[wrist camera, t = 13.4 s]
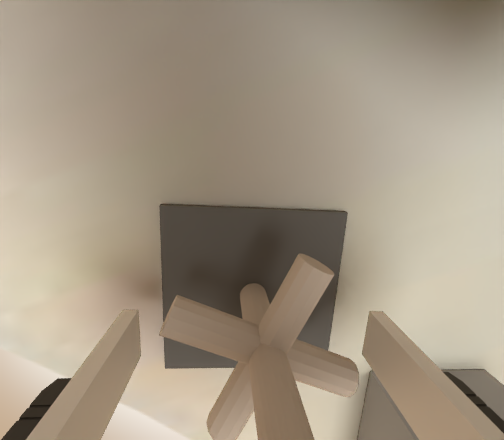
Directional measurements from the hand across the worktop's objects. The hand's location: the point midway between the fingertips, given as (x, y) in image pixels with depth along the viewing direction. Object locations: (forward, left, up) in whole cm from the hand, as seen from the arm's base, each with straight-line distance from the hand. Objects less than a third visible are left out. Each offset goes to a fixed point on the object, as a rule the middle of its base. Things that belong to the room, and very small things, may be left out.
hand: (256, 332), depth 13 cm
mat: (0, 0, -4) cm, 4 cm away
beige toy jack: (0, 0, -4) cm, 4 cm away
